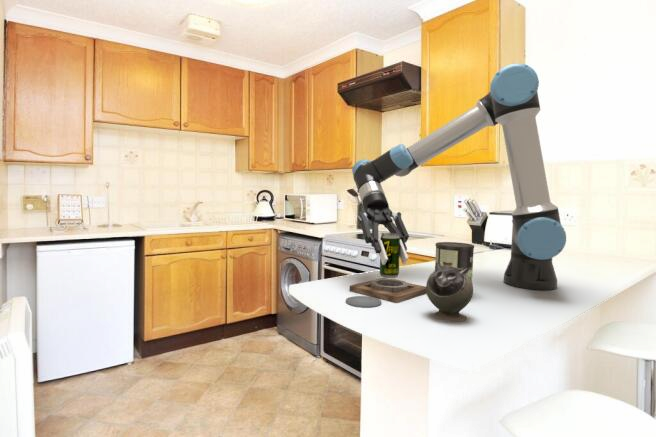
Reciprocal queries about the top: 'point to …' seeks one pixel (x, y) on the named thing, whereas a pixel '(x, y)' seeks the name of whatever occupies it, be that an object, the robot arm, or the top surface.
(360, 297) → the coaster
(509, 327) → the top surface
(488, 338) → the top surface
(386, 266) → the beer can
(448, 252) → the coffee can
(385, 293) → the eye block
